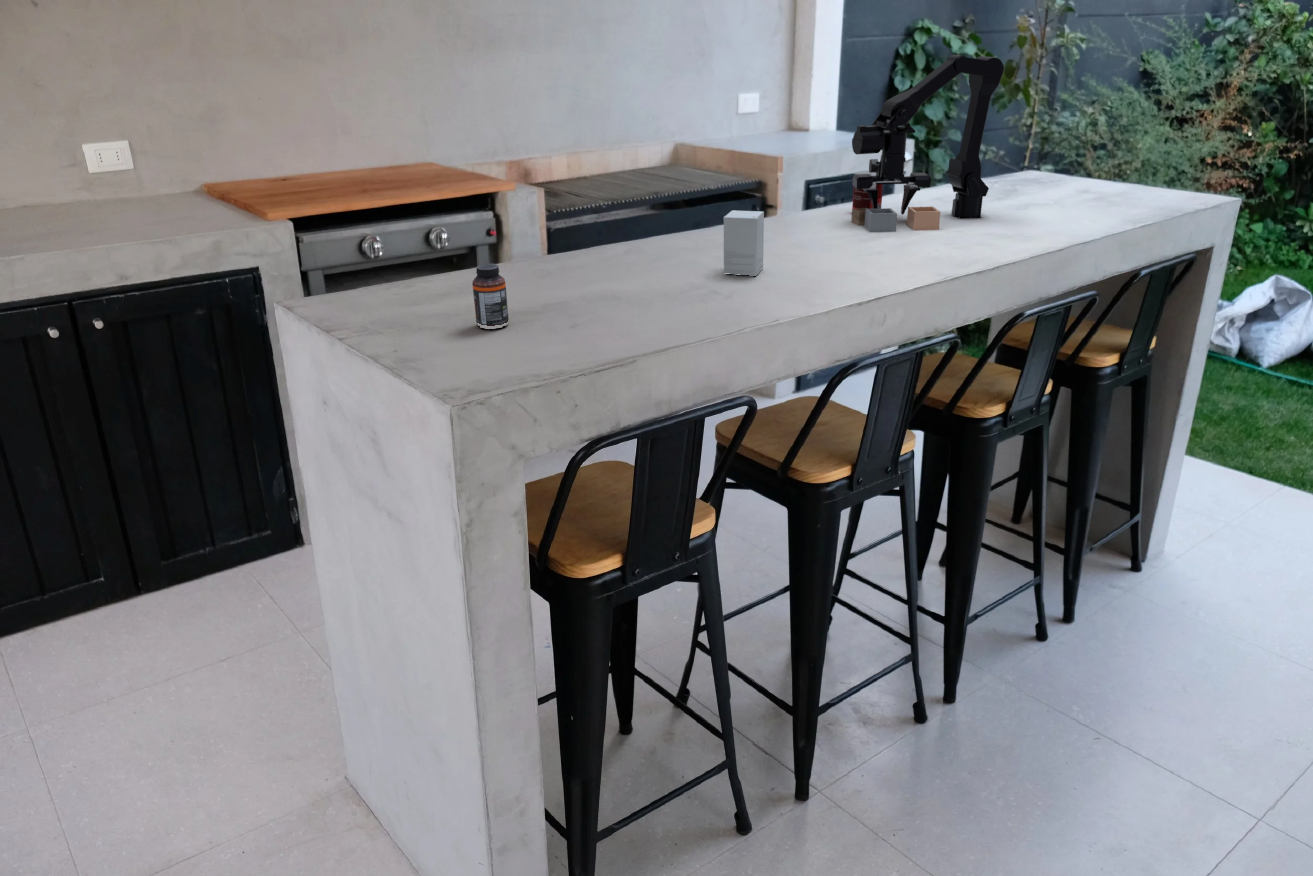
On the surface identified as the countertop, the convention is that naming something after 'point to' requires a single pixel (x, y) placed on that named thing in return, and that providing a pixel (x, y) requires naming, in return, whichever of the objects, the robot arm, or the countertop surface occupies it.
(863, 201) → the canned food
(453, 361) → the countertop surface
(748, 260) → the supplement box
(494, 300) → the supplement bottle
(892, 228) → the grey open square bin
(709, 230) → the countertop surface
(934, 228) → the pot
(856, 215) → the walnut block
